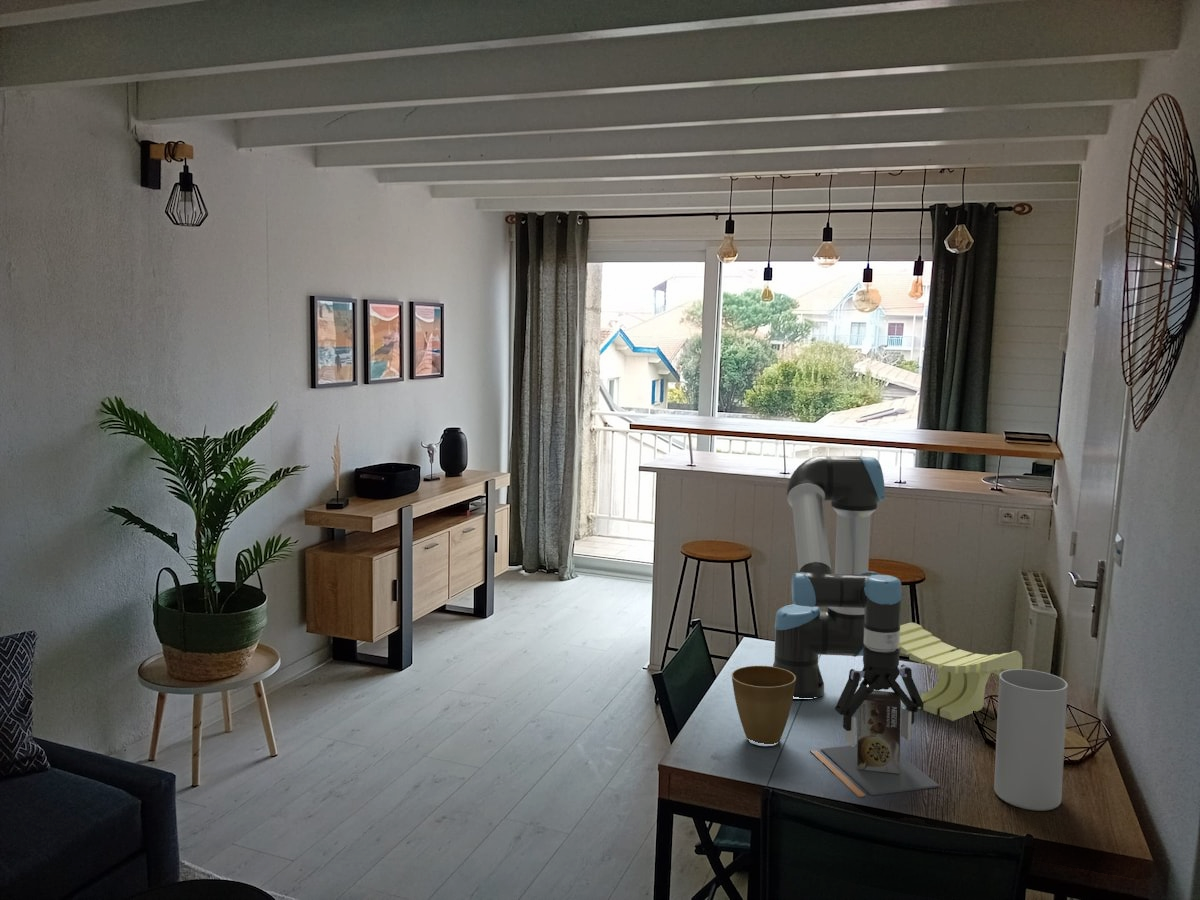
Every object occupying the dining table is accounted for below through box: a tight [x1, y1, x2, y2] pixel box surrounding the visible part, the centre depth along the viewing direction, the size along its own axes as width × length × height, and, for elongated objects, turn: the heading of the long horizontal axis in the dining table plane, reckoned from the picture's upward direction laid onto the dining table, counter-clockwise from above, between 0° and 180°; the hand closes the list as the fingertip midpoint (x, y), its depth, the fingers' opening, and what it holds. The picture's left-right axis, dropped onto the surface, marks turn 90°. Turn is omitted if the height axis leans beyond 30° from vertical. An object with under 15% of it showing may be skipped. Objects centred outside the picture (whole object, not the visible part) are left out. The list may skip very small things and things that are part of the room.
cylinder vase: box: [993, 668, 1069, 812], centre depth 182 cm, size 12×12×25 cm
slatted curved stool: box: [898, 622, 1023, 722], centre depth 231 cm, size 30×16×18 cm, turn 36°
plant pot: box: [731, 665, 796, 744], centre depth 209 cm, size 15×15×16 cm
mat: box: [820, 744, 940, 796], centre depth 196 cm, size 22×16×1 cm
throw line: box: [812, 749, 866, 798], centre depth 194 cm, size 22×2×1 cm, turn 13°
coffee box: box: [856, 689, 902, 774], centre depth 195 cm, size 9×6×16 cm
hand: (878, 741), depth 195 cm, fingers open, 13 cm apart
